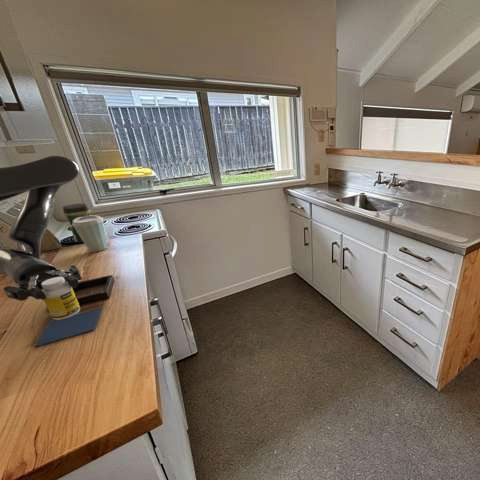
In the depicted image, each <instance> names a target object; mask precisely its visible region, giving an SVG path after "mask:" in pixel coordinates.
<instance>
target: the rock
mask: <svg viewBox="0 0 480 480" xmlns="http://www.w3.org/2000/svg"><path fill="white" fill-rule="evenodd" d="M62 245H63V244H62V243H61V241H60V240H59V239H58V237H56V235H55V234H54V233H53V232H52V231H51V230H49V229H48V228H47V229H46V231H45V233H44V236H43V238H42V242H41V253H43V252H48V251H51V250H55V249H58V248H61V247H62Z"/></svg>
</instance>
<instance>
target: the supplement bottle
mask: <svg viewBox="0 0 480 480" xmlns="http://www.w3.org/2000/svg"><path fill="white" fill-rule="evenodd" d="M65 283H66V282H65V279H64V278H63V277H55V278H51V279H48V280H46V281H44V282H42V283H41V285H42V287H43V289H44V290H43V292H44V295H45V297H46V299H44V300H43V302H44V304H45V306H46V309H47V310H48V312H49V315H50V316H51V318H52V320H61V319H66V318H69V317H71V316H73V315H75V314H79V313H80V311H81V306H79V303H78V301H77V297H76V293H75V291H73V289H72V287H71V285H69V284H65Z"/></svg>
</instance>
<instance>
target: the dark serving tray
mask: <svg viewBox="0 0 480 480" xmlns="http://www.w3.org/2000/svg"><path fill="white" fill-rule="evenodd" d="M114 284H115V278H114V275H113V274H109V275H105V276H100V277H95V278H91V279H86V280H83V281H82V280H80V281H79V284H78V287H76V288H73V287H72V286H71V287H72V289H73V291H74V292H78V291H81V290H86V289H90V288H94V287H95V288H96V287H100V286H103V287H104V288H103V290H102V291H99V292H94V293H91V294H86V295H82V296H78V297H76V298H77V301H78V303H79V306H80V307H82V306H86V305H89V304H94V303H98V302H102V301H106V300H109V299H110V298H111V294H112V291H113V287H114Z"/></svg>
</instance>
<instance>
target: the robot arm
mask: <svg viewBox="0 0 480 480" xmlns="http://www.w3.org/2000/svg"><path fill="white" fill-rule="evenodd" d="M79 174H80V170H79V166H78V164H77V163H76V162H74V161H73V160H72V159H70V158H69V157H66V156H62V155H48V156H45V157H43V158H40V159H37V160H33V161H30V162H26V163H22V164H18V165H12V166H4V167H0V202H4V201H6V200H9V199H11V198H14V197H17V196H19V195H22V194H24V193H26V195H25V199H24V201H23V203H22V205H21V208H20V210H19V211H18V213H17V215H16V218H15V219H14V222H13V223H12V226H11V228H10V230H9V232H8V234H7V238H8V239H9V240H11V241H12V242H14V243H16V244H17V243H18V244H20V245H21V246H23V247H24V250H19V249H14V248H9V247H0V275H3V276H7V277H9V278H11V280H12V281H13V282H14V284H16V285H17V286H16V285H13V286H11V285H7V286H5V287H3V291H4V293H5V294H6V297H7V298H10V299H11V300H12V299H13V300H16V301H20V302H22V301H26V300H28V298H30V297H31V298H33V299H35V300H41V301H44V299H46V297H45V295H44V292H43V291H44V289H43V287H42V285H41V283H42V282H44V281H46V280H48V279H51V278H55V277H63V278H64V279H65V282H66V283H65V284H69V285H71V286H72V287H73V288H76V287H78V284H79V282H80V281H82V279H83V277H82V275H81V273H80V270H79V268H78V267H77V265H76V264H74V265H70V266H69V268H68V269H66V270H63V269H58V268H57V267H56V266H54V265H52V264H50V263H49V262H47V261H45V260H42V257H41V253H42V252H41V242H42V238H43V236H44V233H45V231H46V229H48V226H49V224H50V220H51V215H52V206H53V201H54V199H55V198H56V195H57V194H58V192H59V190H60V189H61V188H62V187H63V186H64V185H67V184H70V183H72V182H74V181H75V180H76V179H77V178H78V176H79Z"/></svg>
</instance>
